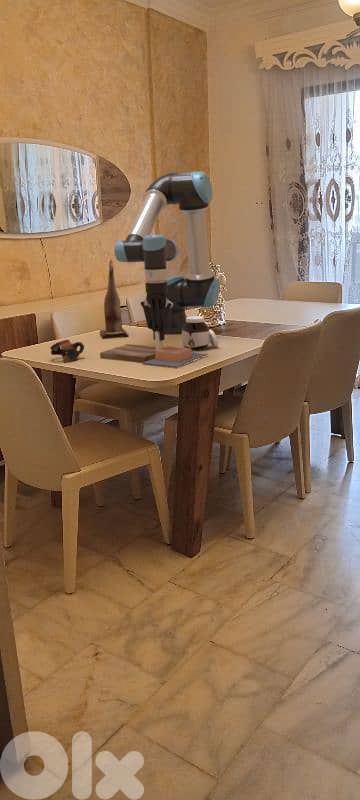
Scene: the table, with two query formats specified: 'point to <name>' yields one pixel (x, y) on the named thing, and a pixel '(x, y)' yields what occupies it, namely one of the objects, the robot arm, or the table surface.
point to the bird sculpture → (112, 307)
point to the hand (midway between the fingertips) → (159, 349)
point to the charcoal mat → (173, 363)
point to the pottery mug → (67, 350)
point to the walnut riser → (130, 353)
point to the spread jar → (197, 334)
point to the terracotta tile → (173, 354)
